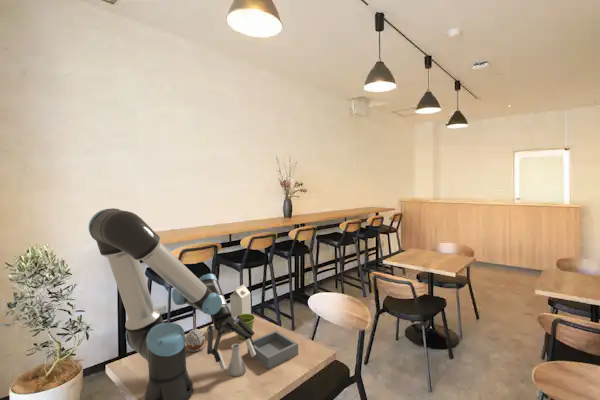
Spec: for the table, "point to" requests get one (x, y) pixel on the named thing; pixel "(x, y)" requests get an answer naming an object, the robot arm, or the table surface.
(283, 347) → the open box
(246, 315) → the plant pot
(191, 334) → the decorative ornament
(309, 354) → the table surface
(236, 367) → the flask
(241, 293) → the milk carton
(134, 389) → the table surface
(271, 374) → the table surface
